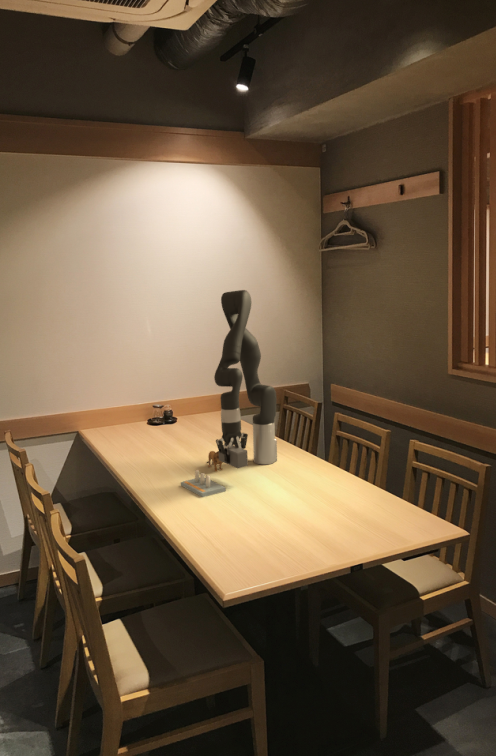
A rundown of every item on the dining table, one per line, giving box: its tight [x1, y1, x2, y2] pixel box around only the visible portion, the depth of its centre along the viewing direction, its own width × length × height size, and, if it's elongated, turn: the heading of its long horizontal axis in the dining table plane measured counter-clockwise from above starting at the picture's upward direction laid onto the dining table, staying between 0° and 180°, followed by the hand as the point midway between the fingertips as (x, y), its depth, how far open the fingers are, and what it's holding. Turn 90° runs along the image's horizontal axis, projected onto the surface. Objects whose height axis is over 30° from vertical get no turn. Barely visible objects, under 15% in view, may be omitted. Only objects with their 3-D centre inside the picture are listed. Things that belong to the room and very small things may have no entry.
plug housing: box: [219, 444, 249, 469], centre depth 250 cm, size 5×13×6 cm, turn 36°
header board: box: [180, 469, 226, 498], centre depth 244 cm, size 10×16×6 cm, turn 35°
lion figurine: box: [205, 450, 224, 472], centre depth 268 cm, size 15×5×9 cm, turn 35°
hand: (233, 461), depth 251 cm, fingers closed on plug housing, 4 cm apart
